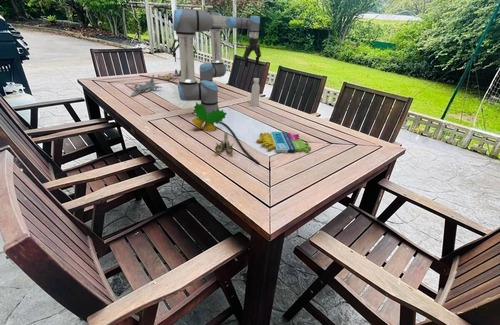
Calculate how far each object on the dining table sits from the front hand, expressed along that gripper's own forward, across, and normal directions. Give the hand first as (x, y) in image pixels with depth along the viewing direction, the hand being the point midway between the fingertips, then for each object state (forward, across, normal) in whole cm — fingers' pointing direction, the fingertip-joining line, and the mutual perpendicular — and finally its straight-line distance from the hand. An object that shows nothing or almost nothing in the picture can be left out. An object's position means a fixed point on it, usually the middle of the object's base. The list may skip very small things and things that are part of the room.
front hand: (184, 61), depth 211 cm
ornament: (+28, -10, +76) cm, 81 cm away
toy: (+28, +10, -72) cm, 78 cm away
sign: (+28, -48, +102) cm, 117 cm away
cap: (+7, -53, +29) cm, 61 cm away
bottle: (+28, -53, +29) cm, 67 cm away
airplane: (+28, +34, -18) cm, 47 cm away
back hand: (+1, -54, +10) cm, 55 cm away
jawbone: (+28, -13, +108) cm, 112 cm away
